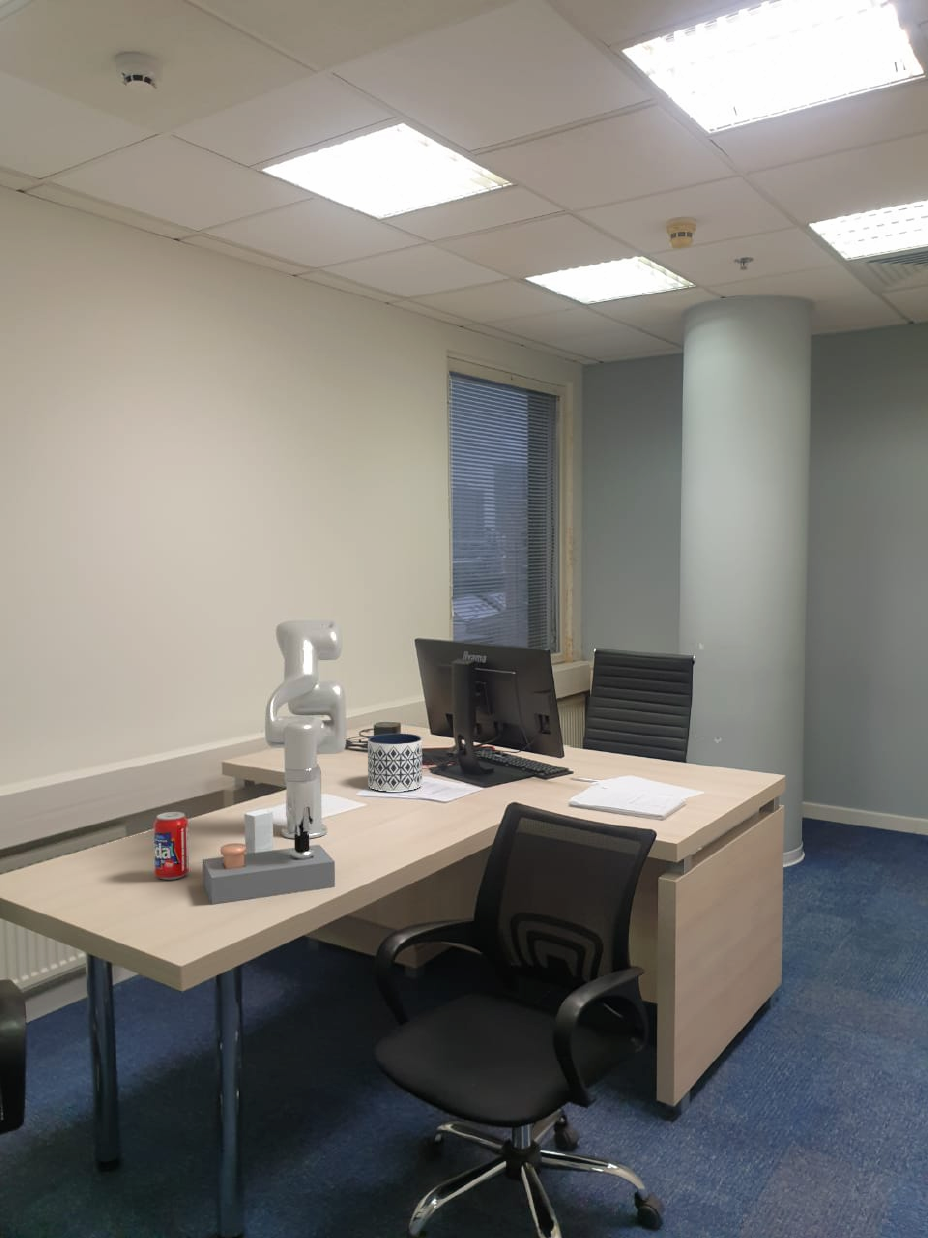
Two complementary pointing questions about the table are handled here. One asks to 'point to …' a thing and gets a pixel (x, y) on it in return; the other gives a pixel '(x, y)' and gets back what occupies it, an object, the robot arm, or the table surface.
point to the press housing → (267, 875)
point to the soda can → (171, 846)
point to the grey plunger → (301, 854)
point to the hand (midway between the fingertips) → (301, 850)
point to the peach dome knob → (233, 855)
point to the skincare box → (259, 831)
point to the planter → (394, 762)
